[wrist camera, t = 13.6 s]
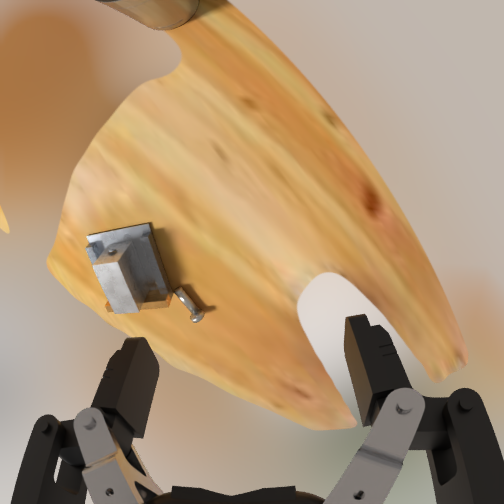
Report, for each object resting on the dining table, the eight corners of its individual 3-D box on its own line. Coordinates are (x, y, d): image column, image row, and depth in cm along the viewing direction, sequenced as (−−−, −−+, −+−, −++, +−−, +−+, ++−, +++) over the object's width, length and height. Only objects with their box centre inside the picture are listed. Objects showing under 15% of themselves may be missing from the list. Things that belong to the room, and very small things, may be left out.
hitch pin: (172, 289, 55) (169, 299, 52) (184, 284, 54) (181, 293, 52) (193, 314, 58) (191, 324, 55) (205, 309, 57) (203, 319, 55)
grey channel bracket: (87, 235, 49) (77, 246, 46) (148, 223, 48) (141, 233, 45) (114, 299, 56) (108, 312, 53) (173, 293, 55) (168, 307, 52)
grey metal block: (108, 243, 50) (91, 264, 44) (131, 239, 49) (116, 260, 43) (127, 290, 55) (114, 313, 49) (150, 288, 54) (139, 312, 48)
